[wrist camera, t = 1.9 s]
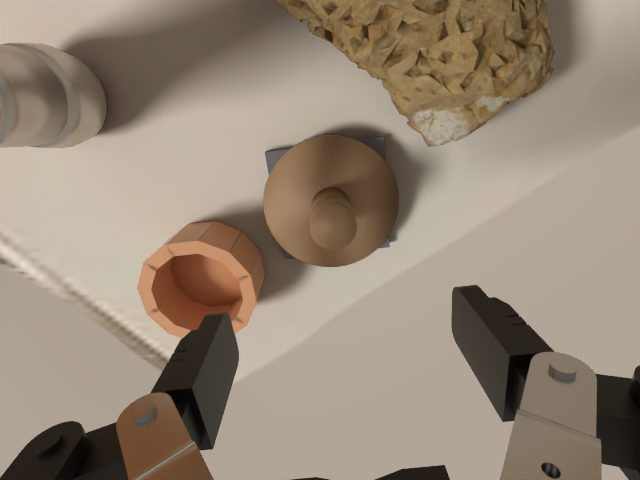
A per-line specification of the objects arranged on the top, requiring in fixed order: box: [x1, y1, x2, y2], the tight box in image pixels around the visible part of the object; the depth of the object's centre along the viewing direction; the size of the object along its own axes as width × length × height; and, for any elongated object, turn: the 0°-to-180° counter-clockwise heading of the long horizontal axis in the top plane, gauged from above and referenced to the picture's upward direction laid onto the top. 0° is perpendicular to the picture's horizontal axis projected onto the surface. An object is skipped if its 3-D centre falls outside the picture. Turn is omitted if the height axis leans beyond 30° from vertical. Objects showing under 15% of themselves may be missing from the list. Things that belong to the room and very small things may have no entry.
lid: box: [263, 135, 399, 267], centre depth 25 cm, size 10×10×6 cm
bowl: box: [137, 221, 265, 338], centre depth 28 cm, size 9×9×4 cm
